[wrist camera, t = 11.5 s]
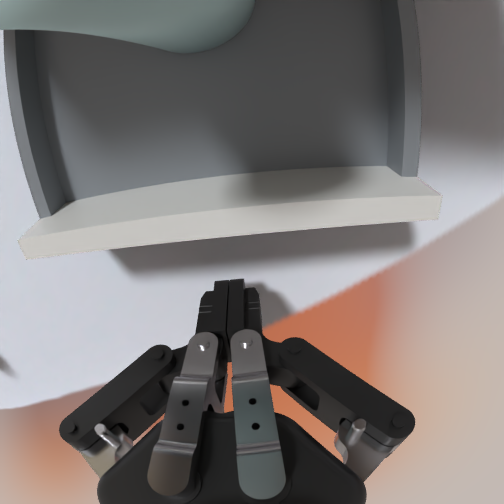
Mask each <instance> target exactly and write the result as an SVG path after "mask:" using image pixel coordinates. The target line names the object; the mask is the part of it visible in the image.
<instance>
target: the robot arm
mask: <svg viewBox="0 0 504 504" xmlns="http://www.w3.org/2000/svg"><path fill="white" fill-rule="evenodd" d="M228 362H232V372H233V377H232V394H233V407H234V411H231V412H227V413H224V402H225V393H226V385H227V377H228V374H227V363H228ZM270 384H272V385H277V386H281V388H282V390H283V391H284V392H286V393H287V394H288V395H289V396H290V397H292V398H293V399H294V400H295V401H296V402H298V403H299V404H300V405H301V406H303V407H304V408H305V409H306V410H307V411H309V412H310V413H311V414H313V415H314V416H315V417H316V418H317V419H319V420H320V421H321V422H323V423H324V424H325V425H326V426H328V427H329V428H330V429H332V430H333V431H334V432H336V433H337V434H336V436H335V440H334V444H335V447H336V449H337V450H338V451H339V452H340V454H341V455H342V457H343V463H342V462H341V461H340V460H339V459H338V458H336V457H335V456H334V455H333V454H332V453H330V452H329V451H328V450H326V448H324V447H323V446H322V445H321V444H320V443H319V442H317V441H316V440H315V439H314V438H313V437H312V436H311V435H309V434H308V433H307V432H306V431H305V430H304V429H303V428H302V427H301V426H299V425H298V424H297V423H296V422H295V421H294V420H292V419H291V418H289V417H287V416H285V415H282V414H279V413H275V412H274V408H273V402H272V396H271V390H270ZM164 413H165V416H164V419H163V420H162V421H160V422H159V423H157V424H156V425H155V426H154V427H153V428H152V429H151V430H150V431H149V432H148V433H147V434H146V435H145V436H144V437H143V438H142V439H141V440H140V441H139V442H138V443H137V444H136V445H134V446H133V441H134V440H135V439H137V438H138V437H139V436H140V435H141V434H142V433H143V432H144V431H146V430H147V429H148V428H149V427H150V426H151V425H152V424H153V423H154V422H156V421H157V420H158V419H159V418H160V417H161V416H162V415H163V414H164ZM414 426H415V418H414V416H413V414H412V413H411V412H410V411H409V410H408V409H406V408H405V407H403V406H401V405H400V404H398V403H397V402H395V401H394V400H392V399H391V398H389V397H388V396H386V395H385V394H383V393H382V392H380V391H379V390H377V389H376V388H374V387H373V386H371V385H369V384H368V383H366V382H365V381H364V380H362V379H361V378H359V377H357V376H356V375H355V374H353V373H352V372H350V371H349V370H347V369H346V368H344V367H343V366H341V365H340V364H339V363H337V362H335V361H334V360H333V359H331V358H330V357H328V356H327V355H325V354H324V353H322V352H321V351H320V350H318V349H317V348H315V347H314V346H313V345H311V344H310V343H308V342H307V341H305V340H304V339H301V338H297V337H295V338H294V337H293V338H288V339H286V340H284V341H283V342H282V343H279V342H274V341H270V340H268V339H267V338H265V336H264V335H263V334H262V319H261V308H260V299H259V293H258V292H257V290H256V289H255V288H245V283H244V279H234V280H230V281H229V280H223V281H215V284H214V291H207V292H205V294H204V295H203V296H202V298H201V301H200V307H199V314H198V320H197V327H196V333H195V335H194V336H193V337H192V338H191V339H190V341H189V343H188V345H186V346H184V347H181V348H178V349H175V350H171V348H169V347H168V346H166V345H156V346H153V347H151V348H150V349H149V350H147V351H146V352H145V353H144V354H143V355H141V356H140V357H139V358H138V359H137V360H135V361H134V362H133V363H132V364H131V365H129V366H128V367H127V368H126V369H125V370H123V371H122V372H121V373H120V374H118V375H117V376H116V377H115V378H114V379H112V380H111V381H110V382H109V383H108V384H106V385H105V386H104V387H103V388H101V389H100V390H99V391H98V392H97V393H95V394H94V395H93V396H92V397H90V398H89V399H88V400H87V401H86V402H84V403H83V404H82V405H81V406H79V407H78V408H77V409H76V410H75V411H73V412H72V413H71V414H70V415H68V416H67V417H66V418H65V419H64V420H63V421H62V422H61V424H60V428H59V431H60V435H61V437H62V438H63V440H65V441H66V442H67V443H69V444H70V445H72V447H73V448H75V449H76V450H77V451H79V452H80V453H81V454H82V456H83V457H84V458H85V460H86V461H87V462H88V464H89V465H90V466H91V468H92V469H93V470H94V471H95V472H96V474H97V475H98V476H99V478H100V481H99V483H98V488H97V495H98V499H99V502H100V504H365V502H366V488H365V485H364V483H363V482H364V481H365V480H366V479H367V478H368V477H369V476H370V475H371V473H372V472H373V471H374V470H375V469H376V468H377V467H378V466H379V464H380V463H381V462H382V461H383V460H384V459H385V458H387V457H388V456H389V455H390V454H391V453H392V452H393V451H394V450H395V449H396V448H397V447H398V446H399V445H400V444H401V443H402V442H403V441H404V440H405V439H406V438H407V437H408V435H409V434H410V433H411V432H412V431H413V429H414Z"/></svg>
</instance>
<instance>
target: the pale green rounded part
mask: <svg viewBox="0 0 504 504" xmlns="http://www.w3.org/2000/svg"><path fill="white" fill-rule="evenodd" d="M254 5H255V0H0V30H16V29H20V30H49V31H62V32H72V33H81V34H88V35H95V36H102V37H108V38H113V39H119V40H124V41H129V42H133V43H138V44H142V45H147V46H151V47H155V48H159V49H163V50H166V51H170V52H175V53H197V52H202V51H206V50H210V49H212V48H215V47H218V46H220V45H221V44H223V43H225V42H227V41H228V40H230V39H231V38H233V37H234V36H235V35H236V34H238V33H239V32H240V31H241V29H242V28H243V27H244V26H245V25H246V23H247V22H248V20H249V18H250V17H251V14H252V12H253V9H254Z"/></svg>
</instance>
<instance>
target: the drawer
mask: <svg viewBox="0 0 504 504" xmlns="http://www.w3.org/2000/svg"><path fill="white" fill-rule="evenodd" d="M4 59H5V72H6V82H7V90H8V98H9V104H10V110H11V116H12V121H13V127H14V131H15V136H16V141H17V145H18V149H19V153H20V157H21V161H22V164H23V168H24V172H25V175H26V178H27V182H28V185H29V188H30V191H31V194H32V197H33V200H34V203H35V206H36V209H37V212H38V214H39V217H40V219H39V220H38V221H37V222H36V223H35V224H34V225H33V226H32V227H31V228H30V229H28V230H27V231H26V232H25V233H24V234H23V235H22V236H21V237H20V238H19V239H18V240H17V241H18V243H19V245H20V247H21V250H22V252H23V254H24V256H25V258H26V260H28V259H36V258H44V257H51V256H59V255H67V254H75V253H84V252H92V251H100V250H109V249H117V248H126V247H135V246H144V245H153V244H162V243H171V242H181V241H191V240H200V239H210V238H220V237H230V236H241V235H251V234H262V233H273V232H284V231H295V230H307V229H319V228H331V227H343V226H356V225H369V224H382V223H396V222H410V221H425V220H438V218H439V213H440V207H441V202H442V196H443V195H441V194H440V193H439V192H437V191H436V190H435V189H433V188H432V187H431V186H429V185H428V184H426V183H425V182H424V181H422V180H421V179H419V178H418V177H417V173H418V163H419V151H420V135H421V100H422V96H421V62H420V47H419V36H418V27H417V18H416V11H415V5H414V0H255V5H254V9H253V12H252V14H251V17H250V18H249V20H248V22H247V23H246V25H245V26H244V27H243V28H242V29H241V31H240V32H239V33H238V34H236V35H235V36H234V37H233V38H231V39H230V40H228V41H227V42H225V43H223V44H221V45H220V46H218V47H215V48H212V49H210V50H206V51H202V52H197V53H175V52H170V51H166V50H163V49H159V48H155V47H151V46H147V45H142V44H138V43H133V42H129V41H124V40H119V39H113V38H108V37H102V36H95V35H88V34H81V33H72V32H62V31H49V30H20V29H16V30H4Z"/></svg>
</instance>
